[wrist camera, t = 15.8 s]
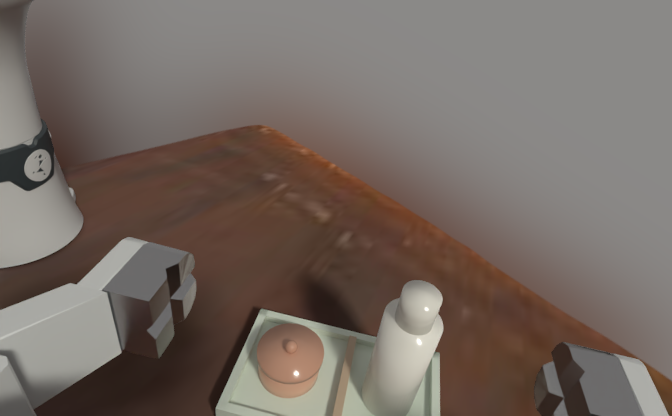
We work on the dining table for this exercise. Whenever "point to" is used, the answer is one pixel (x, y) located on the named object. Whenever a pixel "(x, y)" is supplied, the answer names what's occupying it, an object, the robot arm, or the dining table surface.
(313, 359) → the sugar pot
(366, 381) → the bottle
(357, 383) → the tray
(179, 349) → the dining table surface
